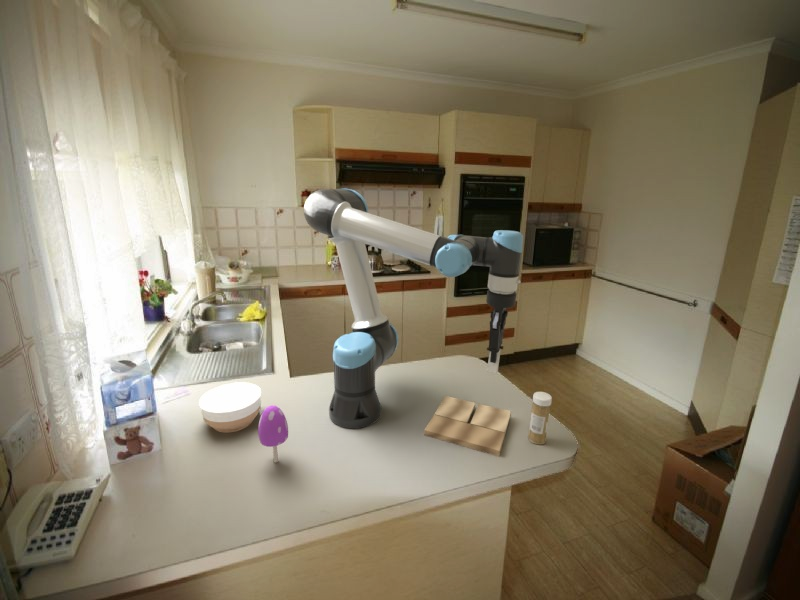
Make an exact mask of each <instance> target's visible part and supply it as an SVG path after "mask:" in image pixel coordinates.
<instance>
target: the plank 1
mask: <svg viewBox="0 0 800 600" xmlns="http://www.w3.org/2000/svg"><path fill="white" fill-rule="evenodd" d="M475 408H476V402H473V401H468V400H464V399H460V398H455V397H451V396H447V395H444V397H443V398H442V401H441V402H440V404H439V406H438V407H437V409H436V411H435V413H434V414H433V416H434V415H437V416H441V417H445V418H449V419H453V420H456V421H460V422H464V423H468V424H469V421H470V419H471V416H472V414H473V412H474V409H475Z"/></svg>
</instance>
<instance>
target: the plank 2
mask: <svg viewBox="0 0 800 600" xmlns="http://www.w3.org/2000/svg"><path fill="white" fill-rule="evenodd" d="M511 413H512V411H510V410H507V409H502V408H498V407H494V406H489V405H485V404H482V403H478V404H477V406H476V409H475V411H474V413H473V416H472V419H471V421H470V422H469V424H472V425H476V426H480V427H483V428H487V429H491V430H495V431H499V432H503V433H505V434H506V432H507V430H508V425H509V422H510V418H511Z"/></svg>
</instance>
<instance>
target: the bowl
mask: <svg viewBox="0 0 800 600" xmlns="http://www.w3.org/2000/svg"><path fill="white" fill-rule="evenodd" d="M261 396H262V389H261V387H259V386H258V385H256V384H253V383H251V382H240V381H239V382H238V381H237V382H231V383H226V384H222V385H219V386H216V387H214V388H211V389H210V390H208V391H206V392H204V394H202V396H201V397H200V399H198V400H199V401H198V407H199V408H200V409H201V412H200V413H201V416H202V418H203V421H204V422H205V423H206V424H207V425H208V426H209V427H211V428H213V429H214V430H215V431H216V432H218V433H227V434H229V433H235V432H238V431H240V430H241V431H242V430H244V429H245V428H247V427H248V426H250V425H251V424H252V423H253V422H254V419H255V418H256V417H257V415H258V414H259V412H260V410H261V405H262V400H261V399H262V397H261Z"/></svg>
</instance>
